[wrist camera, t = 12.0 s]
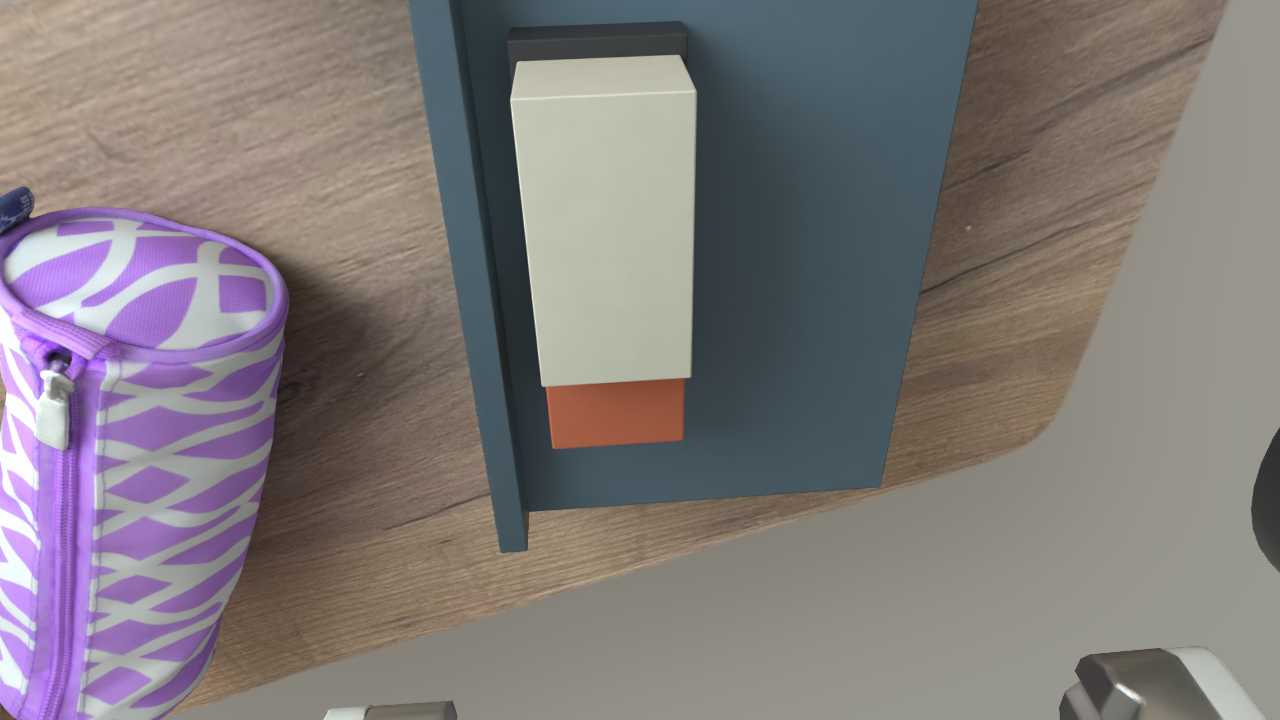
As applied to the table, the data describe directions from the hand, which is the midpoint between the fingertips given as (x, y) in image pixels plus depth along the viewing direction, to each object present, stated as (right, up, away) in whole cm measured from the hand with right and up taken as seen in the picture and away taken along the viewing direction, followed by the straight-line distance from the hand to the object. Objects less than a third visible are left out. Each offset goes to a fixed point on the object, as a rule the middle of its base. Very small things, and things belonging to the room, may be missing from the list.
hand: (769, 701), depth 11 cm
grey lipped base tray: (0, +12, +20) cm, 23 cm away
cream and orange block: (-3, +8, +15) cm, 17 cm away
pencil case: (-22, +2, +25) cm, 33 cm away
